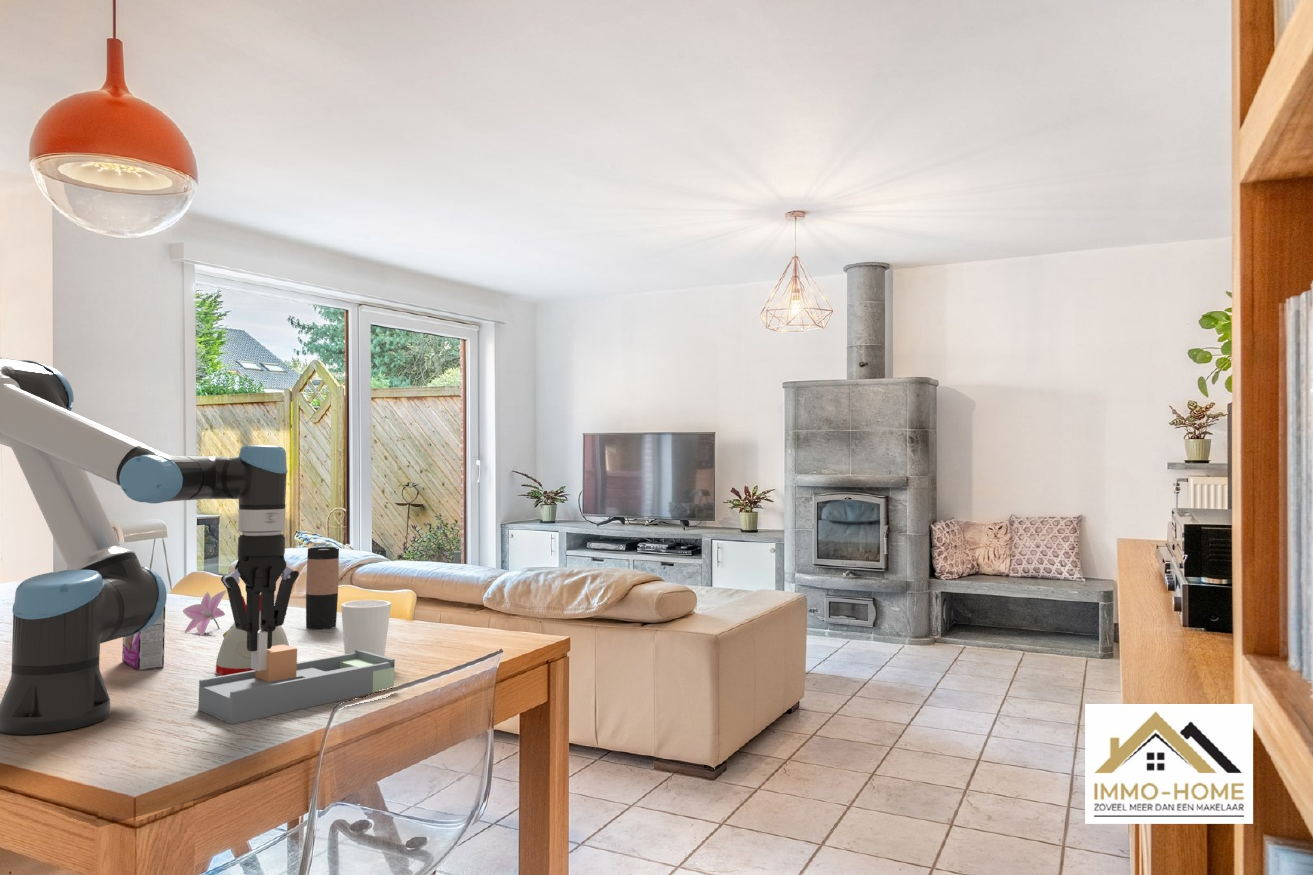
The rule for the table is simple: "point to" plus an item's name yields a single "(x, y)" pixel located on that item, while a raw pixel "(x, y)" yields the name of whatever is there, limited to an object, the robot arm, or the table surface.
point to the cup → (365, 625)
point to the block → (279, 664)
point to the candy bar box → (146, 647)
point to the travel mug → (322, 587)
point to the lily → (204, 612)
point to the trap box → (295, 687)
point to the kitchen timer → (241, 648)
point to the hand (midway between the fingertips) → (258, 668)
